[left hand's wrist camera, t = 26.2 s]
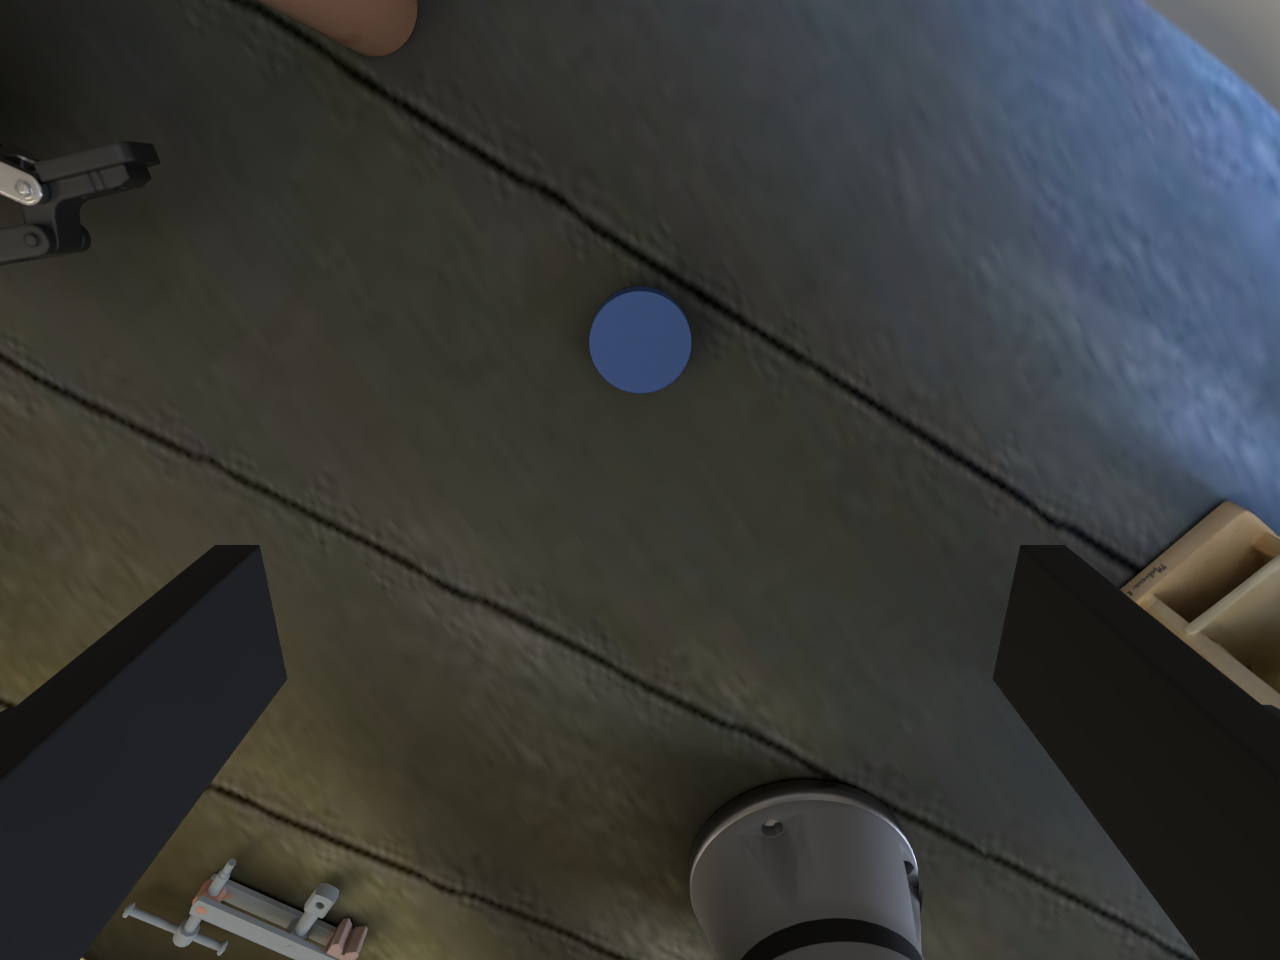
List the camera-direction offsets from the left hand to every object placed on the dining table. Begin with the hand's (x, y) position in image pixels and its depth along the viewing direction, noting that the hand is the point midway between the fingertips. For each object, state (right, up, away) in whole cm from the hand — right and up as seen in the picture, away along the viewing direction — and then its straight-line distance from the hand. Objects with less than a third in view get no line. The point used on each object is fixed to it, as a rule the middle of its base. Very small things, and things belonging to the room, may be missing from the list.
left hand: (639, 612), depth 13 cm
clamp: (-27, -27, +39) cm, 55 cm away
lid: (0, +9, +23) cm, 25 cm away
